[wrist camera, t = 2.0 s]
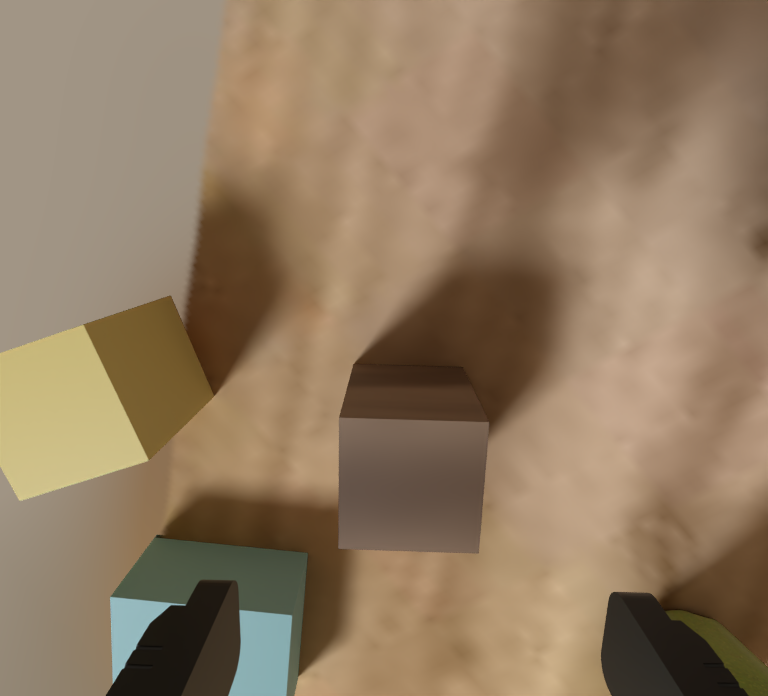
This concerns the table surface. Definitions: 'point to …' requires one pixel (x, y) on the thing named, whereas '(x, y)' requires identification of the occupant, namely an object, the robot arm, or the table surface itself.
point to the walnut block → (411, 460)
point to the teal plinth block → (256, 605)
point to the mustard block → (97, 398)
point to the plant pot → (728, 652)
